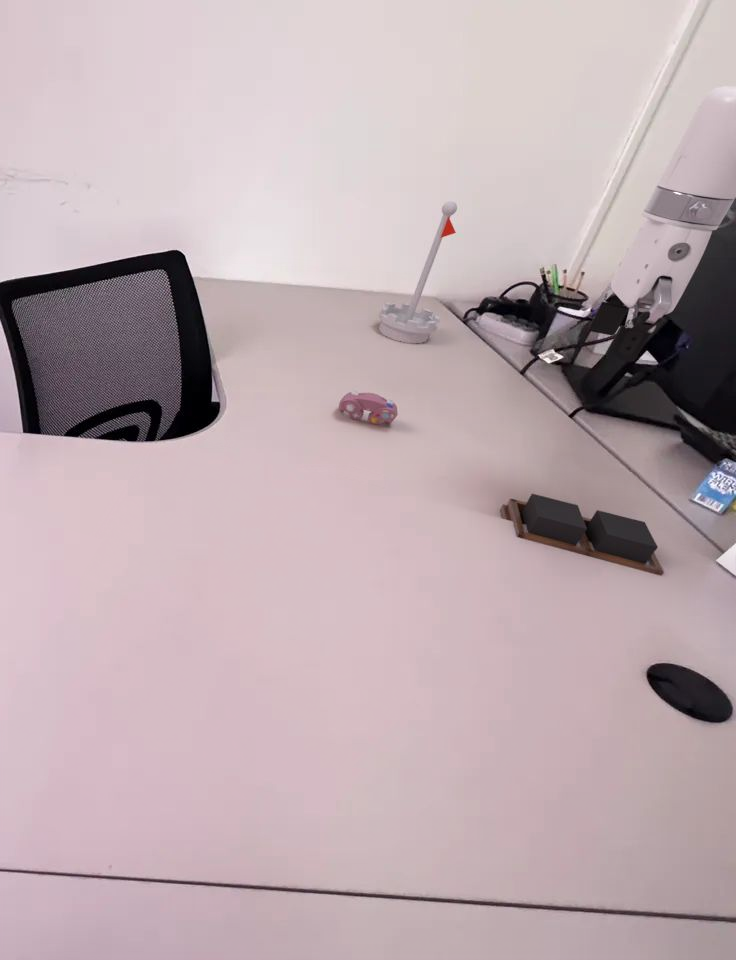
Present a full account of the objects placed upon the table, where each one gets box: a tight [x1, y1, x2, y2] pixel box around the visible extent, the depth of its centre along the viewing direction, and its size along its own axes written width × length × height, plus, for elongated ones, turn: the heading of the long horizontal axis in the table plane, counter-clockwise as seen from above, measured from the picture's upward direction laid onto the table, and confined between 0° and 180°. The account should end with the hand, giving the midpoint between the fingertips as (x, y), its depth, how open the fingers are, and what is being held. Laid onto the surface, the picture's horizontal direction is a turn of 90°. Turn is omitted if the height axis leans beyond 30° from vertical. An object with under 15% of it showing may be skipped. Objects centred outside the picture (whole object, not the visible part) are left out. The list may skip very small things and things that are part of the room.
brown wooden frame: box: [499, 498, 665, 576], centre depth 95 cm, size 18×10×2 cm, turn 69°
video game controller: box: [338, 390, 398, 425], centre depth 120 cm, size 10×5×7 cm, turn 68°
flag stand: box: [378, 200, 458, 345], centre depth 152 cm, size 13×13×30 cm
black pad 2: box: [585, 509, 658, 564], centre depth 93 cm, size 6×6×4 cm
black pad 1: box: [520, 493, 587, 546], centre depth 95 cm, size 6×6×4 cm
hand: (609, 345), depth 89 cm, fingers open, 9 cm apart
